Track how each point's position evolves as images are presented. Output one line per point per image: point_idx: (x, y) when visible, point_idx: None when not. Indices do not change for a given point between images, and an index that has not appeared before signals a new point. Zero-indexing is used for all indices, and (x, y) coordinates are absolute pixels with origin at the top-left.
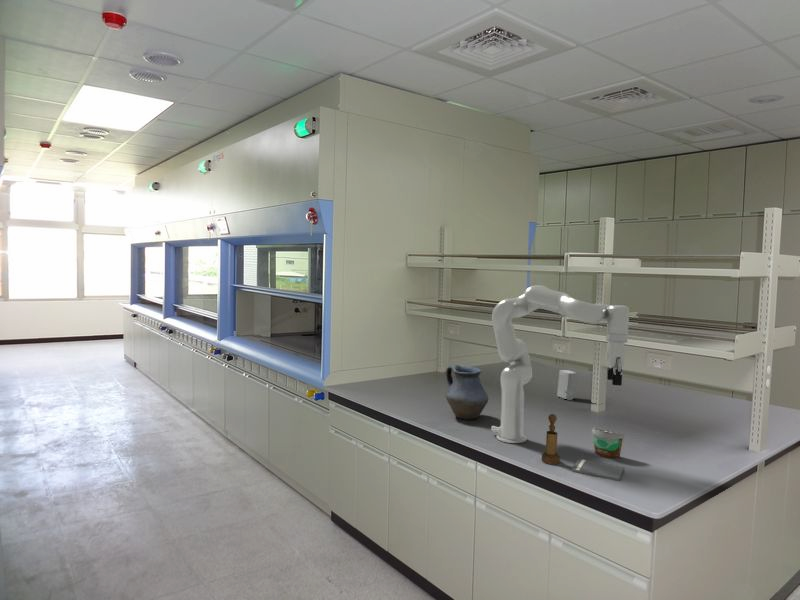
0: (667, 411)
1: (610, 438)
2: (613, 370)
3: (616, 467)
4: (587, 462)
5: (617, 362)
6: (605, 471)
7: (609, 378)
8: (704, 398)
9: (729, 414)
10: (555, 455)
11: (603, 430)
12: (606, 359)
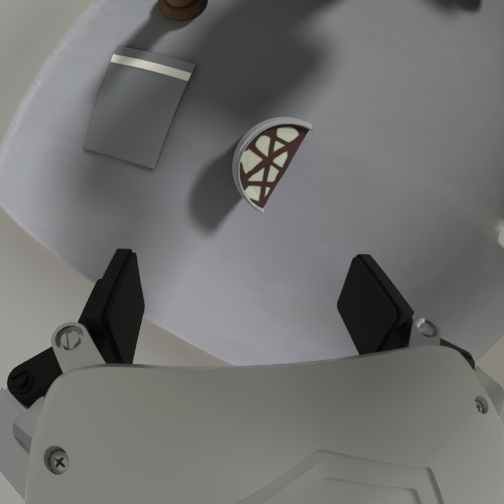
0: (465, 322)
1: (233, 161)
2: (102, 363)
3: (150, 151)
4: (172, 84)
5: (17, 468)
6: (116, 121)
7: (354, 271)
8: (473, 356)
9: None
10: (168, 5)
11: (291, 155)
12: (441, 420)
